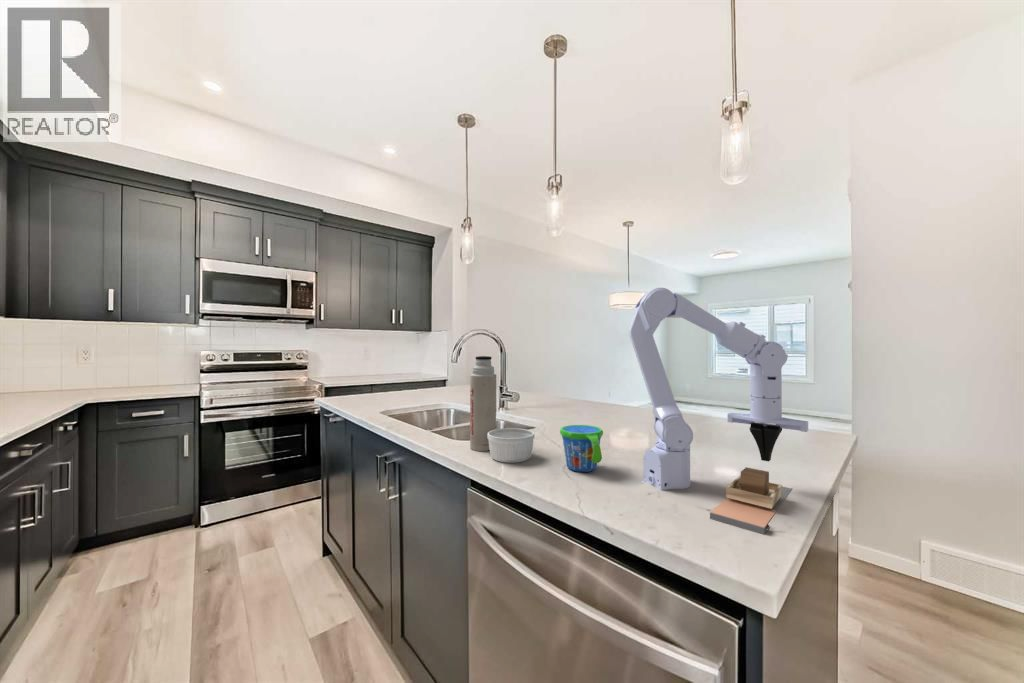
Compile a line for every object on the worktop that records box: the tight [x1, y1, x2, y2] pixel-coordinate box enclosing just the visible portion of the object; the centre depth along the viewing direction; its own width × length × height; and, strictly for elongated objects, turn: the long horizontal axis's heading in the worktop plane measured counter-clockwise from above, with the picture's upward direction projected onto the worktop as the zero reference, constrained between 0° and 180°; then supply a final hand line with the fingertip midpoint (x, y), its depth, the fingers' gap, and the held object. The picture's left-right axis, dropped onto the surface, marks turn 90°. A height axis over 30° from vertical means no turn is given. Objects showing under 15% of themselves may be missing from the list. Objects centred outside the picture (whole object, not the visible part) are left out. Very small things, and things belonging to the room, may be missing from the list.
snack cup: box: [559, 424, 604, 473], centre depth 100 cm, size 16×10×10 cm
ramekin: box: [487, 427, 535, 464], centre depth 110 cm, size 13×13×7 cm
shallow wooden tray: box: [725, 475, 783, 509], centre depth 78 cm, size 9×8×2 cm
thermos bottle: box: [469, 355, 497, 452], centre depth 120 cm, size 8×8×28 cm
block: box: [740, 466, 770, 496], centre depth 78 cm, size 4×4×4 cm
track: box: [709, 485, 793, 535], centre depth 78 cm, size 25×8×1 cm, turn 135°
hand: (766, 459), depth 84 cm, fingers closed
